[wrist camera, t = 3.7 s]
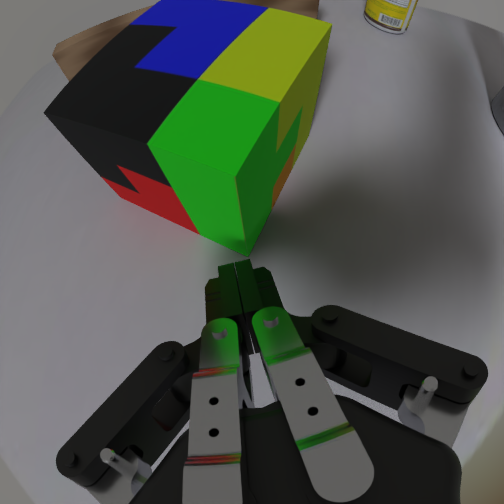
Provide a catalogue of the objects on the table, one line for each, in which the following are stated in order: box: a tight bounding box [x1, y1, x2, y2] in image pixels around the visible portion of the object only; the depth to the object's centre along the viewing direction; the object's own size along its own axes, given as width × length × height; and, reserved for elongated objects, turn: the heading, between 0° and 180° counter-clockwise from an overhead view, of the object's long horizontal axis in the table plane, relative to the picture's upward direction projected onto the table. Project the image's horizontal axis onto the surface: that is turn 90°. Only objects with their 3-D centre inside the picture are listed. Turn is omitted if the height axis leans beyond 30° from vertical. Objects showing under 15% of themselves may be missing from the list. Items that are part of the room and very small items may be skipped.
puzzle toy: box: [44, 0, 332, 257], centre depth 15 cm, size 10×10×10 cm
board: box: [53, 0, 319, 82], centre depth 21 cm, size 24×2×6 cm, turn 103°
